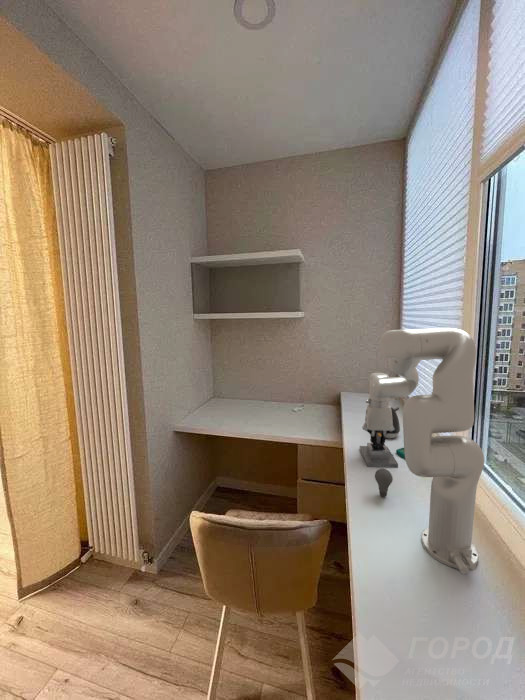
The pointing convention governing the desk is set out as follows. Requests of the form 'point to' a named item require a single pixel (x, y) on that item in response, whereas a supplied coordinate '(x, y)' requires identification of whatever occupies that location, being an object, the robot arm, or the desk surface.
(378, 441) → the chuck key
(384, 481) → the light bulb
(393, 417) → the pump dispenser
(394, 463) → the block
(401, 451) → the digital multimeter
